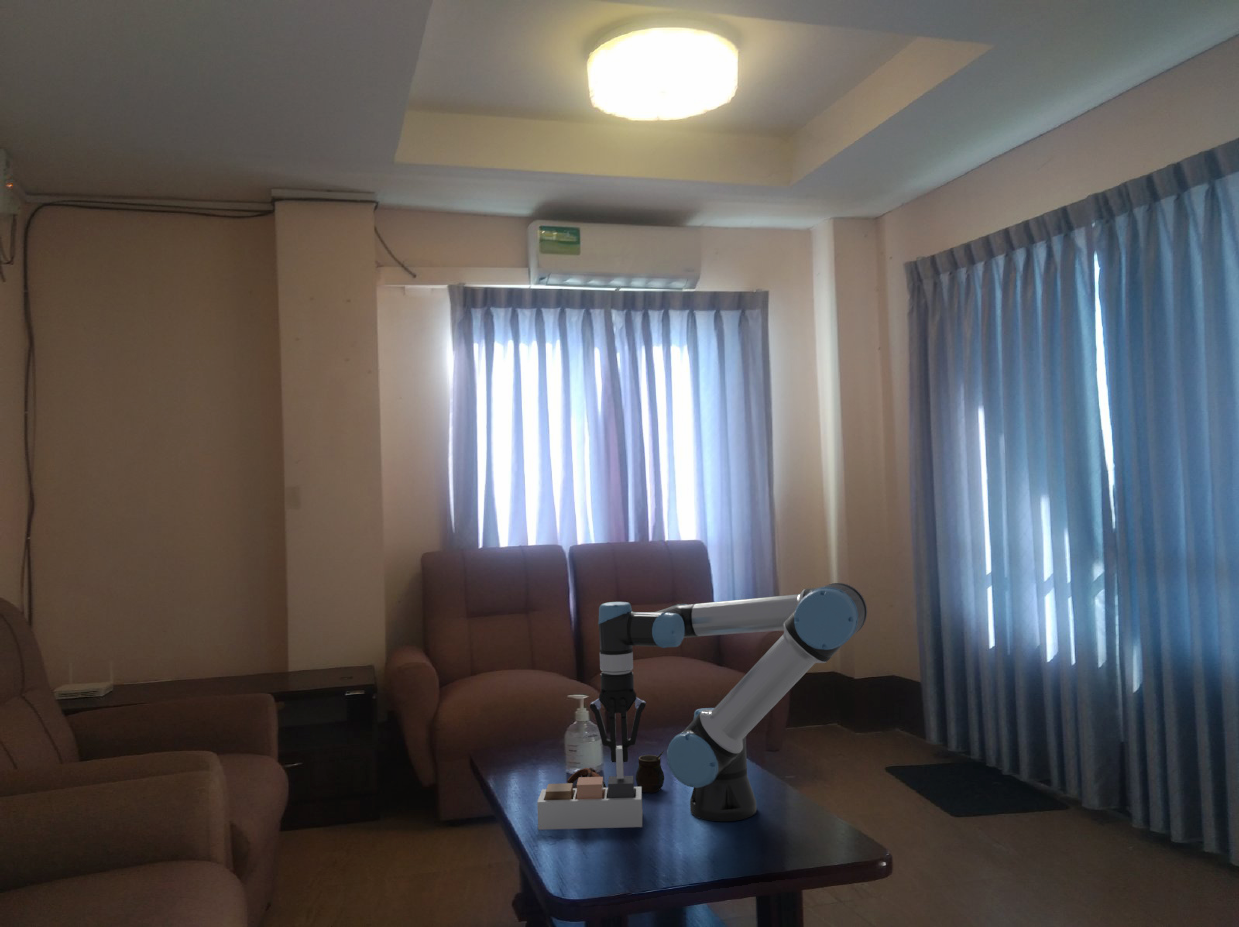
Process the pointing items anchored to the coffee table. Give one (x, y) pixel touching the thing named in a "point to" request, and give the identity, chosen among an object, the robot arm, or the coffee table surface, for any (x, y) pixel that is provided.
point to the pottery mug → (584, 775)
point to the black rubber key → (621, 787)
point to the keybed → (590, 812)
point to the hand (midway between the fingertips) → (620, 776)
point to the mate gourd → (650, 773)
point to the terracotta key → (590, 788)
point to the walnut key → (559, 791)
